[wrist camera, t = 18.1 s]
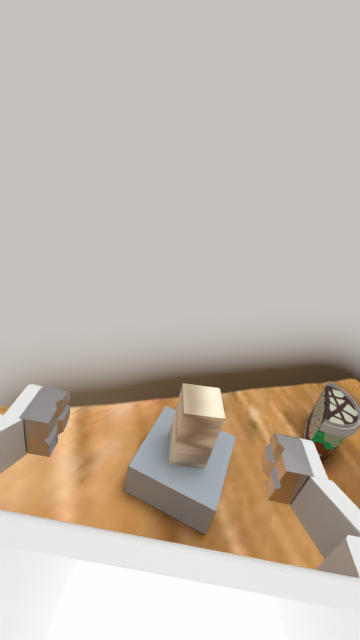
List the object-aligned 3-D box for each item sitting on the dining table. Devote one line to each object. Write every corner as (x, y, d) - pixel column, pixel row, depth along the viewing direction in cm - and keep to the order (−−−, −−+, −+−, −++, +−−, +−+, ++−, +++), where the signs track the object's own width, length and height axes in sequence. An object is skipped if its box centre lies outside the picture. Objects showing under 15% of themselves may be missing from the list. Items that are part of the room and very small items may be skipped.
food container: (337, 480, 48) (367, 441, 43) (299, 460, 50) (325, 421, 45) (338, 430, 58) (362, 394, 53) (307, 416, 60) (328, 379, 55)
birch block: (201, 436, 43) (219, 388, 38) (205, 468, 39) (225, 418, 34) (169, 432, 43) (182, 383, 38) (168, 464, 39) (183, 413, 34)
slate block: (225, 460, 48) (235, 437, 45) (204, 535, 38) (216, 511, 35) (160, 430, 50) (165, 405, 47) (124, 492, 40) (128, 466, 37)
